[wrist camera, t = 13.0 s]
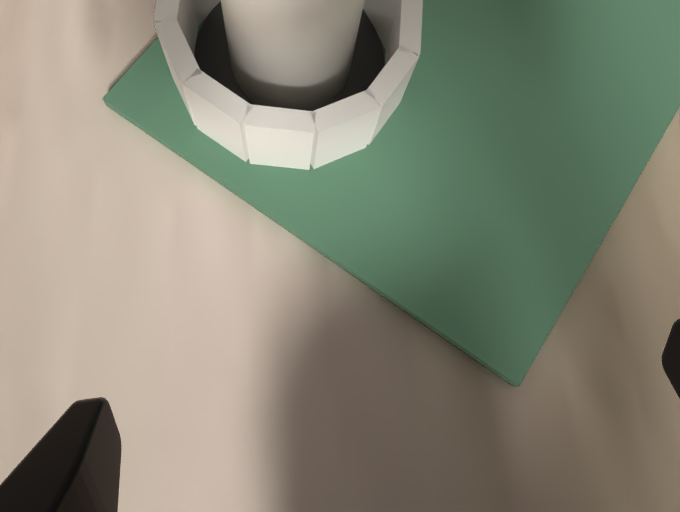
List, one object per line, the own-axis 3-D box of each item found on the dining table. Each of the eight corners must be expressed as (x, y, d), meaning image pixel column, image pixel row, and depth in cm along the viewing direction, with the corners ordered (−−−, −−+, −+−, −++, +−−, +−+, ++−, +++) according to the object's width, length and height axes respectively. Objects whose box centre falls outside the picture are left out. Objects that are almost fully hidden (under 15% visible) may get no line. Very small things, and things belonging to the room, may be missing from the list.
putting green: (717, 31, 28) (790, -29, 24) (512, 385, 23) (561, 385, 19) (372, -191, 29) (386, -284, 25) (106, 105, 24) (71, 48, 20)
